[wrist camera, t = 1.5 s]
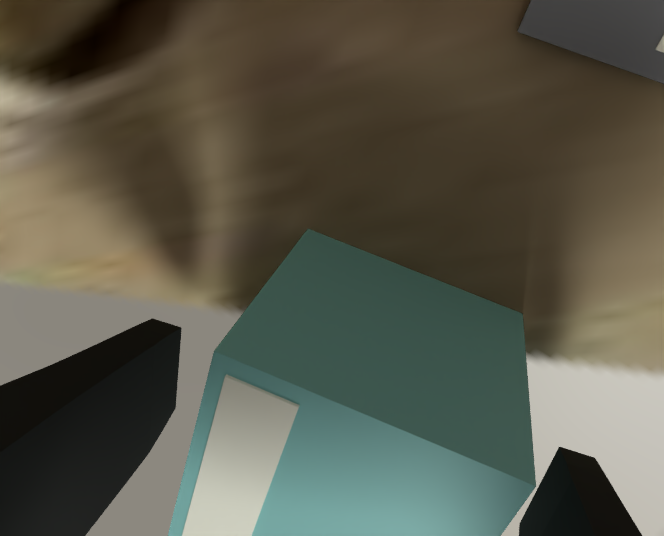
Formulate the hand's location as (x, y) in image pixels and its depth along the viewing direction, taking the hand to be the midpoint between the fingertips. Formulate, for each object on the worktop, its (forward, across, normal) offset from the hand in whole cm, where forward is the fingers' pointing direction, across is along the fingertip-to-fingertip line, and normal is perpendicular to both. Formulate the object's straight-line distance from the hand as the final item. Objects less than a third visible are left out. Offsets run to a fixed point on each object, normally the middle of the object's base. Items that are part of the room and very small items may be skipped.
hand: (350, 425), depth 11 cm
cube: (+2, 0, 0) cm, 2 cm away
